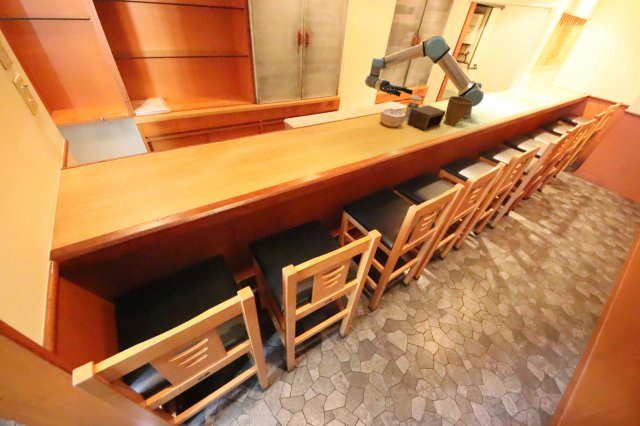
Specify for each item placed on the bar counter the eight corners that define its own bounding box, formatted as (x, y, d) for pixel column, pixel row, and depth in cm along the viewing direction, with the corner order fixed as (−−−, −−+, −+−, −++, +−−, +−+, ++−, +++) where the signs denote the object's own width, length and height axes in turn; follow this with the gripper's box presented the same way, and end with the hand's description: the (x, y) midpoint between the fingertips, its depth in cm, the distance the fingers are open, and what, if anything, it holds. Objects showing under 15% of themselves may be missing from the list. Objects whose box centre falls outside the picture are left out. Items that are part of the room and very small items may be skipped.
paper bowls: (376, 125, 156) (379, 112, 151) (381, 118, 167) (384, 106, 162) (400, 130, 152) (404, 117, 147) (403, 123, 163) (407, 111, 158)
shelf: (423, 119, 172) (428, 105, 166) (439, 126, 165) (445, 111, 158) (407, 124, 163) (412, 108, 156) (423, 131, 155) (429, 115, 149)
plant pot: (436, 122, 170) (446, 98, 160) (443, 118, 179) (453, 95, 169) (458, 129, 163) (469, 104, 153) (464, 124, 172) (475, 101, 162)
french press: (417, 118, 174) (430, 79, 158) (414, 122, 166) (428, 82, 150) (403, 115, 177) (415, 76, 161) (400, 119, 168) (412, 79, 152)
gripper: (392, 89, 187) (414, 97, 175) (370, 92, 174) (393, 101, 162) (394, 78, 182) (418, 86, 170) (372, 81, 170) (396, 89, 158)
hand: (406, 93), depth 166 cm, fingers open, 13 cm apart
